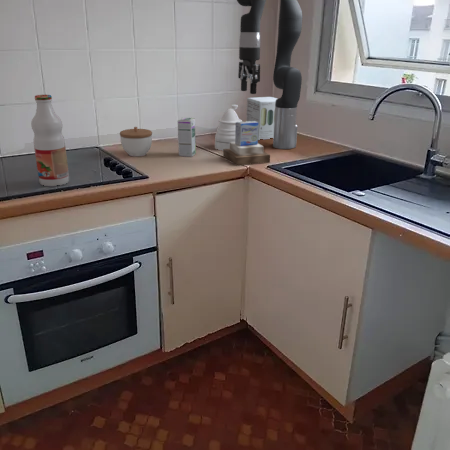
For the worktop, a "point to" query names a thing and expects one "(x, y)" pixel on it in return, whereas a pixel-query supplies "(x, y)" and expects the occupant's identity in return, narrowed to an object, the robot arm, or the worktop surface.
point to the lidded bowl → (136, 141)
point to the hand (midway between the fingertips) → (248, 92)
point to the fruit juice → (49, 144)
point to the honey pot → (227, 129)
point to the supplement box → (262, 115)
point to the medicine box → (246, 133)
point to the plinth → (245, 158)
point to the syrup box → (186, 137)
